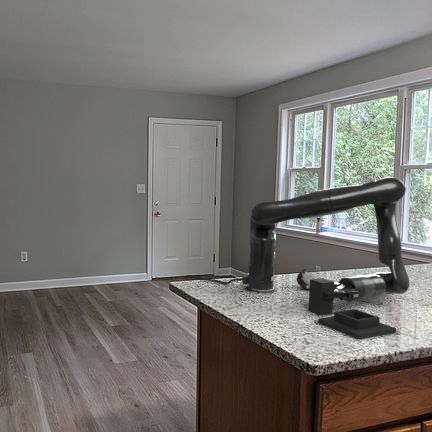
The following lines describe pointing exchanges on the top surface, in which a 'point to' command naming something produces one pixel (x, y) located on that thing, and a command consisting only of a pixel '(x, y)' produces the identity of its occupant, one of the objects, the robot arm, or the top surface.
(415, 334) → the top surface
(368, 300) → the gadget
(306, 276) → the figurine
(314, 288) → the pad block
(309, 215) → the robot arm
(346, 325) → the base pad
